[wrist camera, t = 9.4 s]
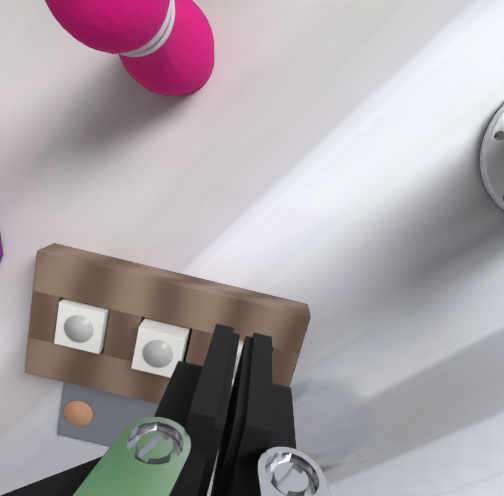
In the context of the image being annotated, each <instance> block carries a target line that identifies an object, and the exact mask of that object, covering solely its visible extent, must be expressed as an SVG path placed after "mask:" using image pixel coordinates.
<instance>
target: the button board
mask: <svg viewBox="0 0 504 496" xmlns="http://www.w3.org/2000/svg"><path fill="white" fill-rule="evenodd" d="M64 298H66V299H70V300H75V301H79V302H83V303H87V304H91V305H96V306H100V307H104V308H108V309H110V316H109V322H108V328H107V335H106V341H105V347H104V348H103V349H102V351H101V352H100V353H99V354H97V353H92V352H88V351H84V350H80V349H75V348H71V347H67V346H63V345H58V344H54V340H55V332H56V324H57V315H58V307H59V302H60V301H62V300H63V299H64ZM145 318H150V319H154V320H158V321H163V322H167V323H171V324H175V325H179V326H184V327H188V328H192V334H191V338H190V343H189V347H188V352H187V356H186V357H185V358H184V362H187V363H191V364H195V365H200V366H203V365H204V362H205V359H206V355H207V352H208V349H209V346H210V342H211V339H212V336H213V333H214V329H215V326H216V323H217V324H221V325H225V326H229V327H234V331H233V333H237V334H240V338H239V340H242V341H244V340H245V336H250V337H252V336H253V333H259V334H263V335H267V336H271V337H272V383H275V384H279V385H283V386H288V387H289V386H290V383H291V380H292V376H293V373H294V370H295V366H296V363H297V360H298V357H299V353H300V350H301V347H302V343H303V340H304V337H305V333H306V330H307V327H308V323H309V320H310V313H309V309H308V305H307V304H304V303H300V302H296V301H292V300H288V299H283V298H279V297H275V296H271V295H267V294H263V293H259V292H254V291H250V290H246V289H242V288H238V287H234V286H229V285H225V284H221V283H217V282H213V281H209V280H205V279H200V278H196V277H192V276H188V275H184V274H180V273H176V272H171V271H167V270H163V269H159V268H155V267H151V266H147V265H142V264H138V263H134V262H130V261H126V260H122V259H117V258H113V257H109V256H105V255H101V254H97V253H93V252H88V251H84V250H80V249H76V248H72V247H68V246H64V245H59V244H55V243H54V244H52V245H49V246H47V247H45V248H43V249H40V250H38V251H37V257H36V266H35V276H34V286H33V296H32V305H31V315H30V325H29V334H28V344H27V354H26V364H25V373H29V374H34V375H38V376H42V377H46V378H51V379H55V380H59V381H63V382H68V383H72V384H76V385H81V386H85V387H89V388H93V389H98V390H102V391H106V392H110V393H115V394H119V395H123V396H128V397H132V398H136V399H140V400H145V401H149V402H153V403H157V404H160V401H161V399H162V397H163V395H164V392H165V390H166V388H167V385H168V383H169V381H170V377H166V376H162V375H157V374H153V373H149V372H145V371H140V370H136V369H132V362H133V357H134V351H135V346H136V340H137V335H138V329H139V326H140V325H141V323H142V322H143V321H144V319H145ZM232 386H233V385H232ZM231 390H232V387H231ZM230 394H231V393H230Z"/></svg>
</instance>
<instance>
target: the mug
mask: <svg viewBox="0 0 504 496" xmlns="http://www.w3.org/2000/svg"><path fill="white" fill-rule="evenodd" d="M2 256H3V252H2V245H1V238H0V260H1V258H2Z"/></svg>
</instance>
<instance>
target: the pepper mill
mask: <svg viewBox="0 0 504 496" xmlns="http://www.w3.org/2000/svg"><path fill="white" fill-rule="evenodd" d="M45 1H46V3H47V5H48V7H49V9H50V11H51V12H52V14H53V16H54V17H55V18H56V20H57V21H58V22H59V23H60V24H61V26H62V27H63V28H64V29H65V30H66V31H67V32H68V33H70V34H71V35H72V36H73V37H74V38H75V39H77V40H78V41H80V42H82V43H83V44H85V45H86V46H88V47H90V48H93V49H95V50H99V51H103V52H107V53H112V54H116V53H119V56H120V58H121V60H122V62H123V65H124V67H125V68H126V70H127V71H128V73H129V74H130V75H131V76H132V77H133V78H134V79H135V80H136V81H137V82H138V83H140V84H141V85H142V86H143V87H145V88H146V89H148V90H150V91H152V92H155V93H157V94H162V95H187V94H191V93H193V92H195V91H197V90H198V89H200V88H201V87H202V86H203V85H204V84H205V83H206V82H207V80H208V79H209V77H210V75H211V73H212V70H213V66H214V39H213V34H212V30H211V27H210V25H209V22H208V20H207V18H206V17H205V15H204V14H203V12H202V11H201V9H200V8H199V7H198V6H197V5H196V4H195V3H194V2H193V1H192V0H45Z"/></svg>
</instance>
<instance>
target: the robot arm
mask: <svg viewBox="0 0 504 496" xmlns="http://www.w3.org/2000/svg"><path fill="white" fill-rule="evenodd" d="M494 134H496V138H495V139H494ZM480 170H481V176H482V180H483V183H484V185H485V188H486V190H487V192H488V193H489V195H490V196H491V198H492V199H493V201H494V202H495V203H496V204H497V205H498V206H499V207H501V208H502V209H503V210H504V198H503V196H504V105H503V106H502V107H501V108H500V109H499V110H498V111H497V113H496V114H495V116H494V118H493V119H492V121H491V122H490V124H489V126H488V128H487V131H486V133H485V135H484V138H483V142H482V147H481V151H480ZM233 331H234V327H229V326H225V325H221V324H217V323H216V326H215V329H214V333H213V336H212V339H211V342H210V346H209V349H208V352H207V355H206V359H205V362H204V365H203V366H200V365H195V364H191V363H187V362H183V361H178V363H177V365H176V367H175V369H174V372H173V374H172V376H171V378H170V381H169V383H168V385H167V388H166V390H165V392H164V395H163V397H162V399H161V401H160V404H159V406H158V408H157V411H156V413H155V415H154V417H147V418H142V419H138V420H136V421H134V422H132V423H130V424H129V425H128V426H127V427H126V428H125V429H124V430H123V431H122V432H121V434H120V435H119V436H118V438H117V439H116V440H115V441H114V443H113V444H112V445H111V447H110V448H109V449H108V451H107V452H106V453H105V454H104V456H102V457H100V458H97V459H95V460H92V461H89V462H87V463H84V464H82V465H79V466H76V467H74V468H71V469H68V470H66V471H63V472H61V473H58V474H55V475H53V476H50V477H48V478H45V479H42V480H40V481H37V482H35V483H32V484H29V485H27V486H24V487H22V488H19V489H16V490H14V491H11V492H9V493H6V494H3V495H1V496H207V492H208V488H209V484H210V480H211V477H212V473H213V469H214V465H215V461H216V457H217V462H216V468H215V474H214V480H213V485H212V491H211V496H331V493H330V490H329V487H328V484H327V481H326V478H325V476H324V474H323V472H322V470H321V468H320V467H319V466H318V465H317V463H316V462H315V461H314V460H313V459H311V458H310V457H309V456H308V455H306V454H305V453H303V452H301V451H298V450H296V441H295V429H294V417H293V405H292V393H291V388H290V387H288V386H283V385H279V384H275V383H272V337H271V336H267V335H263V334H259V333H253V336H252V337H250V336H245V340H244V343H243V347H242V351H241V355H240V359H239V363H238V367H237V371H236V374H235V378H234V382H233V386H232V381H233V375H234V369H235V363H236V357H237V350H238V344H239V338H240V334H237V333H233ZM231 387H232V390H231ZM230 393H231V394H230ZM218 450H219V451H218ZM217 453H218V456H217Z"/></svg>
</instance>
